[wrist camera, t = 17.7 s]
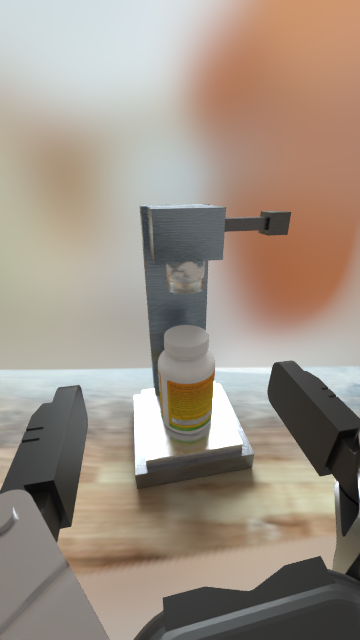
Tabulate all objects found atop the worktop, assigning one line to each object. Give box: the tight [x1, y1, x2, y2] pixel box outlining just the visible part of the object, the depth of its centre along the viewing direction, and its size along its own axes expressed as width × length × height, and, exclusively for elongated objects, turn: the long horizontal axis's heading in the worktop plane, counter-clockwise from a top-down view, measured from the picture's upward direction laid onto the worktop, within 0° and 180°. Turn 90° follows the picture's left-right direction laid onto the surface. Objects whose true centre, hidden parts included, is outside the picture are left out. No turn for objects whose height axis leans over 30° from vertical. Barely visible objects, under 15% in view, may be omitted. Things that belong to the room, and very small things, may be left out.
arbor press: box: [134, 204, 291, 489], centre depth 24 cm, size 15×11×23 cm
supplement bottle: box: [158, 325, 215, 434], centre depth 24 cm, size 5×5×10 cm
